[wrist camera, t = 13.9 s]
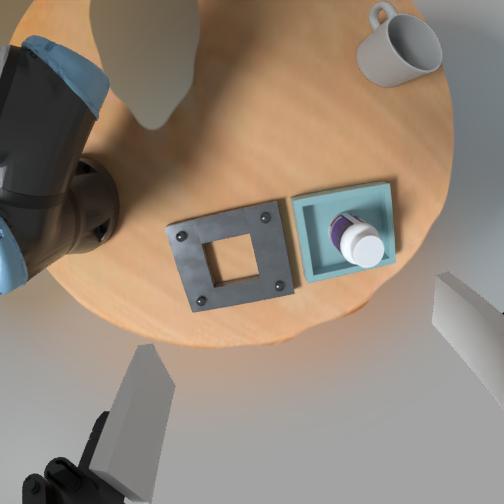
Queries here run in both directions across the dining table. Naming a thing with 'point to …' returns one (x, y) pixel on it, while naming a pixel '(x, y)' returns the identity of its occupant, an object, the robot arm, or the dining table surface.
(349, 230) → the pill bottle
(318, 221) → the tray
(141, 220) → the dining table surface
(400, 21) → the mug
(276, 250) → the plate
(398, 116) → the dining table surface
